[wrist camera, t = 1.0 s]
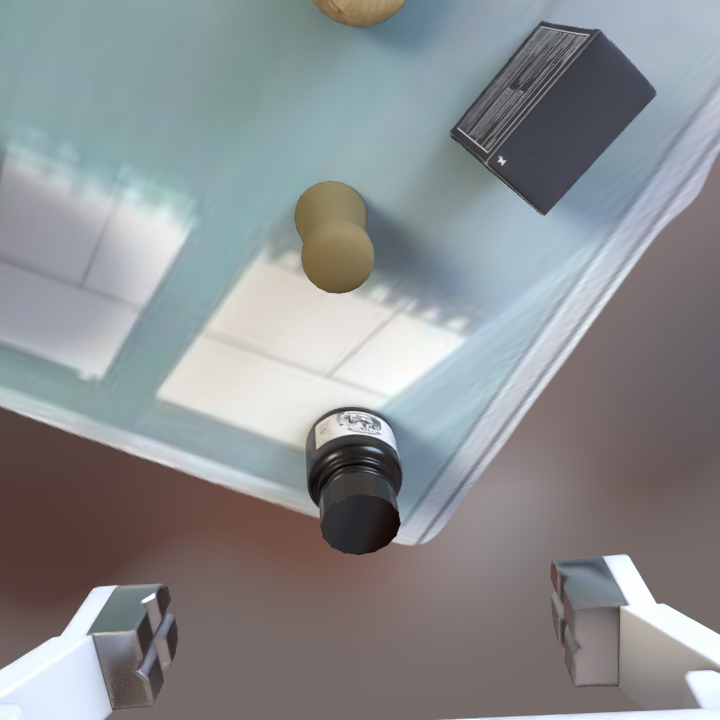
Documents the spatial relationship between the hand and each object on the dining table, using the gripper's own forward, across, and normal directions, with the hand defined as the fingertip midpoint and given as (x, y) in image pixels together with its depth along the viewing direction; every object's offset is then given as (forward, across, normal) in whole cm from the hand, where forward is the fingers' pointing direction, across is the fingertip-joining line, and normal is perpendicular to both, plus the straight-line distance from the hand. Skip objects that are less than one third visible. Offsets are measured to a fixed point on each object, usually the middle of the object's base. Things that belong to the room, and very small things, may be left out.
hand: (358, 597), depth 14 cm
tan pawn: (+45, +4, -4) cm, 45 cm away
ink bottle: (+49, +5, +19) cm, 53 cm away
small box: (+45, -12, -11) cm, 48 cm away
